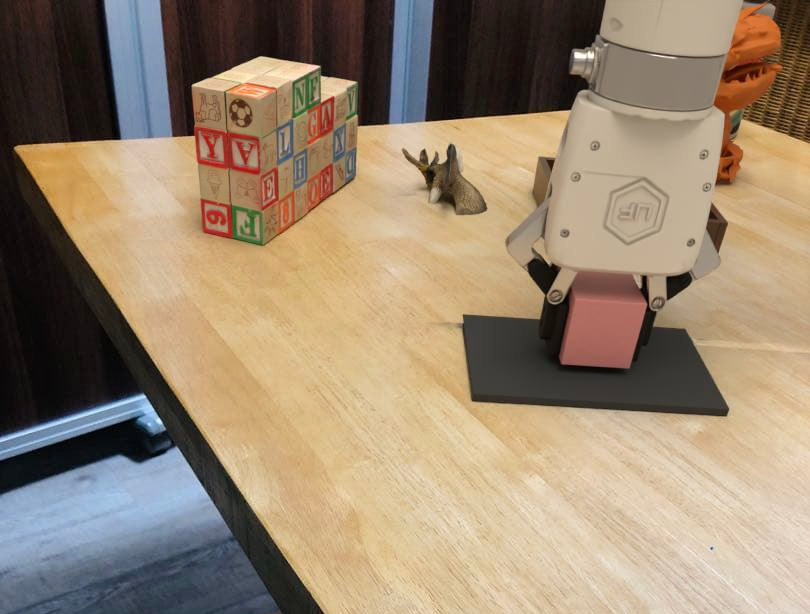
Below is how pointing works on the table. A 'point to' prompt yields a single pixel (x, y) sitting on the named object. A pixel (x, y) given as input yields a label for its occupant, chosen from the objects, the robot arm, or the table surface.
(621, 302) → the pink block
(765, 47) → the toy dinosaur
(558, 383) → the mat
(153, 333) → the table surface
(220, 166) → the stack of blocks
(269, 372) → the table surface
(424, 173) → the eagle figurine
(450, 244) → the table surface
